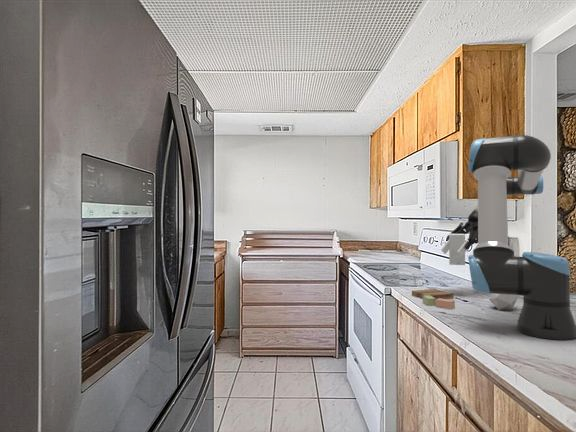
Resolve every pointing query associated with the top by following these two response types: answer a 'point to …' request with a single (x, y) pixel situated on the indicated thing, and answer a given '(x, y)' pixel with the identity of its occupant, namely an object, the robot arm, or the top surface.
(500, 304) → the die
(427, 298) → the olive brick
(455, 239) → the small box
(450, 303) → the terracotta brick
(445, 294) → the walnut slab
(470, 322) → the top surface
